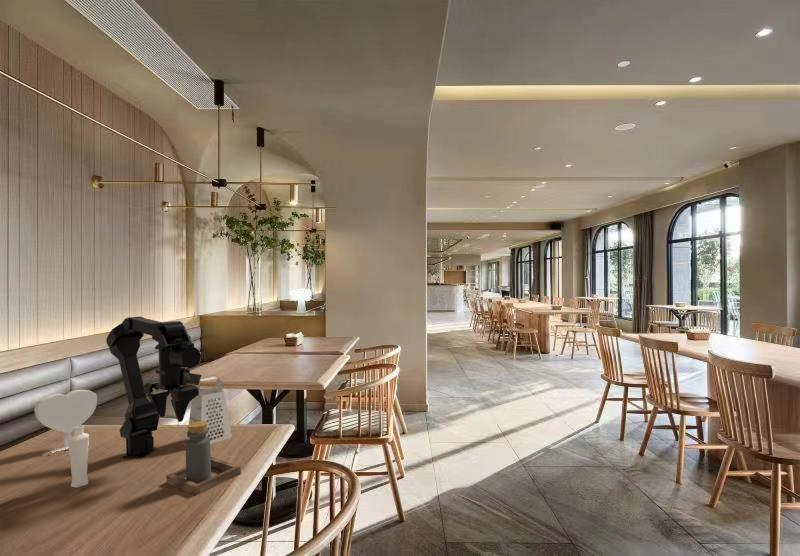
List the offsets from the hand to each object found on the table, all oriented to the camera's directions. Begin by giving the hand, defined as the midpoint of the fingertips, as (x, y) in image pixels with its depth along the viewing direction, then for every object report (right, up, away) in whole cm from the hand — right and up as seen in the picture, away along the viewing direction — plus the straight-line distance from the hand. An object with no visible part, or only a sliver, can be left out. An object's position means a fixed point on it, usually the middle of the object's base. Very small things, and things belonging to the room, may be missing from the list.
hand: (171, 419), depth 120 cm
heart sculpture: (-41, -15, +14) cm, 46 cm away
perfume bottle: (-18, -14, -11) cm, 25 cm away
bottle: (+13, -13, -11) cm, 21 cm away
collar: (+14, -13, -10) cm, 21 cm away
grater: (+2, -13, +20) cm, 24 cm away
